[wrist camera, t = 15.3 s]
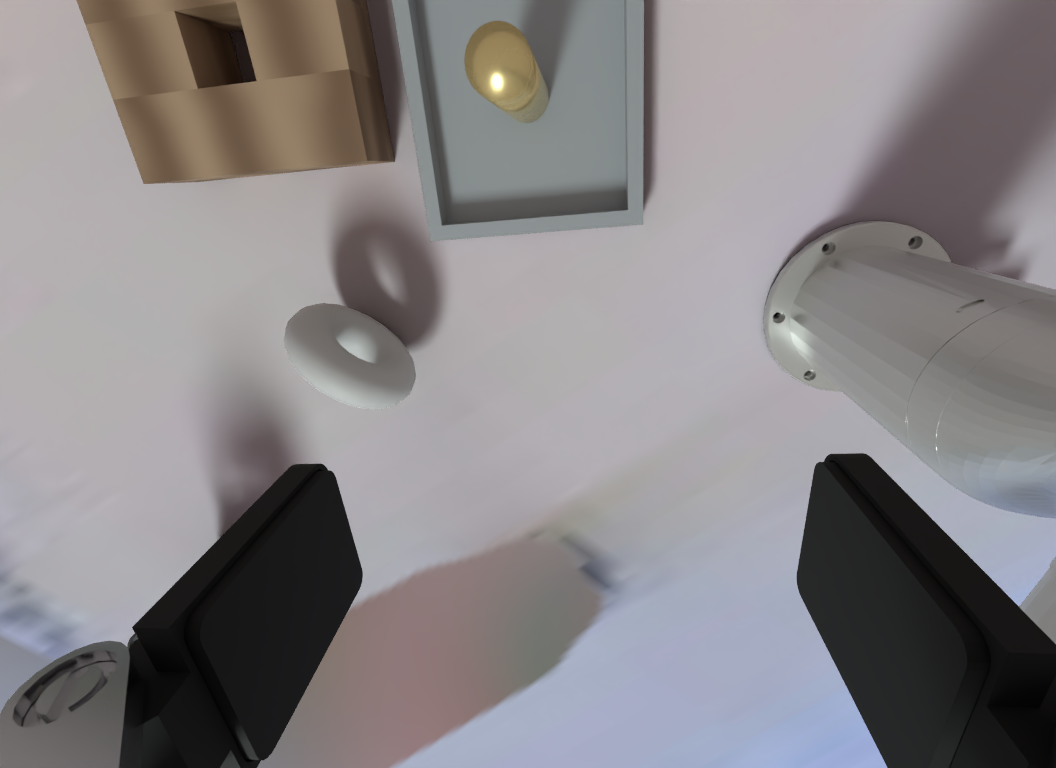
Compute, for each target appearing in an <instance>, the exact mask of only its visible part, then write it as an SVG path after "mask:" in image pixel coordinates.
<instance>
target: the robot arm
mask: <svg viewBox="0 0 1056 768" xmlns="http://www.w3.org/2000/svg"><path fill="white" fill-rule="evenodd" d="M910 239H911V241H910ZM909 241H910V243H909ZM908 243H909V244H908ZM825 244H826V248H825V249H824V250H822V247H823V246H824V245H825ZM777 312H778V315H777V316H776V317H773V316H774V314H775V313H777ZM763 323H764V335H765V339H766V342H767V346H768V348H769V350H770V352H771V354H772V355H773V357H774V359H775V360H776V361H777V363H778V364H779V365H780V366H781V367H782V368H783V369H784V370H785V371H786V372H787V373H788V374H789V375H791V376H792V377H793V378H794V379H796V380H798V381H799V382H801V383H803V384H805V385H808V386H811V387H814V388H817V389H820V390H827V391H834V392H843V393H844V394H845V395H846V396H848V397H849V398H850V399H851V400H852V401H853V402H854V403H856V404H857V405H858V406H859V407H860V408H861V409H863V410H864V411H865V412H866V413H867V414H868V415H869V416H871V417H872V418H873V419H874V420H875V421H876V422H878V423H879V424H880V425H881V426H882V427H883V428H884V429H886V430H887V431H888V432H889V433H890V434H891V435H893V436H894V437H895V438H896V439H897V440H898V441H899V442H901V443H902V444H903V445H904V446H905V447H906V448H908V449H909V450H910V451H911V452H912V453H913V454H914V455H916V456H917V457H918V458H919V459H920V460H921V461H923V462H924V463H925V464H926V465H927V466H928V467H929V468H931V469H932V470H933V471H934V472H935V473H937V474H938V475H939V476H940V477H941V478H942V479H944V480H945V481H946V482H948V483H949V484H951V485H952V486H953V487H955V488H956V489H958V490H959V491H961V492H963V493H964V494H966V495H968V496H970V497H972V498H974V499H976V500H978V501H980V502H983V503H985V504H988V505H991V506H994V507H996V508H1000V509H1003V510H1006V511H1010V512H1015V513H1020V514H1026V515H1032V516H1038V517H1045V518H1056V290H1054V289H1051V288H1047V287H1043V286H1039V285H1035V284H1031V283H1027V282H1023V281H1020V280H1016V279H1012V278H1008V277H1004V276H1000V275H996V274H992V273H989V272H985V271H981V270H977V269H973V268H969V267H965V266H962V265H958V264H954V263H952V262H951V260H950V257H949V256H948V254H947V253H946V252H945V250H944V249H943V248H942V246H941V245H940V244H939V243H938V242H937V241H936V240H934V239H933V238H932V237H931V236H929V235H928V234H927V233H925V232H923V231H921V230H918V229H916V228H914V227H912V226H908V225H904V224H899V223H894V222H885V221H868V222H858V223H854V224H850V225H846V226H842V227H839V228H837V229H835V230H832V231H830V232H828V233H826V234H823V235H821V236H820V237H818V238H817V239H815V240H814V241H812V242H811V243H809V244H807V245H806V246H805V247H804V248H803V249H801V250H800V251H799V252H798V253H797V254H796V255H795V256H793V257H792V258H791V260H790V261H789V262H788V263H787V264H786V266H785V267H784V268H783V269H782V271H781V272H780V273H779V275H778V277H777V278H776V280H775V282H774V284H773V285H772V287H771V290H770V293H769V295H768V298H767V301H766V304H765V311H764V317H763ZM807 371H808V372H807ZM805 372H807V373H805ZM361 583H362V568H361V564H360V561H359V557H358V554H357V550H356V547H355V543H354V540H353V536H352V533H351V529H350V526H349V522H348V519H347V515H346V512H345V508H344V505H343V501H342V498H341V494H340V491H339V487H338V484H337V480H336V477H335V475H334V473H333V472H332V471H328V470H327V468H326V467H325V466H324V465H323V464H295V465H292V466H291V467H290V468H288V470H287V471H286V472H285V473H284V474H283V475H282V476H281V477H280V478H279V479H278V480H277V481H276V482H275V483H274V484H273V485H272V486H271V487H270V488H269V489H268V490H267V491H266V492H265V493H264V494H263V495H262V496H261V497H260V498H259V499H258V500H257V501H256V502H255V503H254V504H253V505H252V506H251V507H250V508H249V509H248V510H247V511H246V512H245V513H244V514H243V515H242V516H241V517H240V518H239V519H238V520H237V521H236V522H235V523H234V524H233V525H232V526H231V527H230V528H229V529H228V530H227V532H226V533H225V534H224V535H223V536H222V537H221V538H220V539H219V540H218V541H217V542H216V543H215V544H214V545H213V546H212V547H211V548H210V549H209V550H208V551H207V552H206V553H205V554H204V555H203V556H202V557H201V558H200V559H199V560H198V561H197V562H196V563H195V564H194V565H193V566H192V567H191V568H190V569H189V570H188V571H187V572H186V573H185V574H184V575H183V576H182V577H181V578H180V579H179V580H178V581H177V582H176V583H175V584H174V585H173V586H172V587H171V588H170V589H169V590H168V591H167V592H166V594H165V595H164V596H163V597H162V598H161V599H160V600H159V601H158V602H157V603H156V604H155V605H154V606H153V607H152V608H151V609H150V610H149V611H148V612H147V613H146V614H145V615H144V616H143V617H142V618H141V619H140V620H139V621H138V622H137V623H136V624H135V625H134V626H133V627H132V628H133V630H134V632H135V633H136V635H137V637H138V640H137V641H136V642H135V643H134V644H133V645H132V646H131V648H130V649H129V648H128V647H126V646H125V645H124V644H123V643H121V642H115V641H105V642H99V643H93V644H90V645H87V646H85V647H82V648H79V649H76V650H74V651H72V652H70V653H68V654H66V655H64V656H62V657H60V658H58V659H56V660H55V661H53V662H52V663H50V664H49V665H47V666H46V667H45V668H43V669H41V670H40V671H38V672H37V673H36V674H35V675H33V676H32V677H31V678H30V679H29V680H27V681H26V682H25V683H24V684H23V685H22V686H20V687H19V689H18V690H17V691H16V692H15V693H14V694H13V695H12V697H11V698H10V699H9V700H8V701H7V702H6V704H5V706H4V708H3V709H2V711H1V713H0V768H257V766H258V764H259V763H260V761H261V760H264V759H266V758H268V756H269V755H270V754H271V753H272V751H273V750H274V748H275V747H276V745H277V742H278V741H279V739H280V737H281V735H282V733H283V732H284V730H285V728H286V726H287V724H288V722H289V720H290V718H291V716H292V715H293V713H294V711H295V709H296V707H297V705H298V703H299V701H300V700H301V698H302V696H303V694H304V692H305V690H306V688H307V686H308V685H309V683H310V681H311V679H312V677H313V675H314V673H315V672H316V670H317V668H318V666H319V664H320V662H321V660H322V658H323V656H324V655H325V653H326V651H327V649H328V647H329V645H330V643H331V641H332V640H333V638H334V636H335V634H336V632H337V630H338V628H339V627H340V625H341V623H342V621H343V619H344V617H345V615H346V613H347V612H348V610H349V608H350V606H351V604H352V602H353V600H354V598H355V597H356V595H357V593H358V591H359V589H360V587H361ZM797 585H798V589H799V593H800V595H801V597H802V599H803V601H804V603H805V605H806V607H807V609H808V611H809V613H810V615H811V617H812V619H813V621H814V623H815V625H816V627H817V629H818V631H819V633H820V635H821V637H822V639H823V641H824V643H825V645H826V647H827V649H828V651H829V653H830V655H831V657H832V659H833V661H834V663H835V665H836V667H837V669H838V670H839V672H840V674H841V676H842V678H843V680H844V682H845V684H846V686H847V688H848V690H849V692H850V694H851V696H852V698H853V700H854V702H855V704H856V706H857V708H858V710H859V712H860V714H861V716H862V718H863V720H864V722H865V724H866V726H867V728H868V730H869V732H870V734H871V736H872V738H873V740H874V742H875V744H876V746H877V747H878V749H879V751H880V753H881V755H882V757H883V759H884V761H885V763H886V765H887V767H888V768H1056V557H1055V558H1054V559H1053V560H1052V562H1051V564H1050V568H1049V570H1048V571H1047V572H1046V573H1045V575H1044V576H1043V577H1042V578H1041V580H1040V581H1039V582H1038V583H1037V585H1036V586H1035V587H1034V589H1033V590H1032V591H1031V592H1030V594H1029V595H1028V596H1027V597H1026V599H1025V600H1024V601H1023V602H1022V604H1021V605H1020V606H1018V605H1017V604H1016V603H1015V602H1014V601H1013V600H1012V599H1011V598H1010V597H1009V596H1008V595H1007V594H1006V593H1005V592H1004V591H1003V590H1002V589H1001V588H1000V587H999V586H998V585H997V584H996V583H995V582H994V581H993V580H992V579H991V578H990V577H989V576H988V575H987V574H986V573H985V572H984V571H983V570H982V569H981V568H980V567H979V566H978V565H977V564H976V563H975V562H974V561H973V560H972V559H971V558H970V557H969V556H968V555H967V554H966V553H965V552H964V551H963V550H962V549H961V548H960V547H959V546H958V545H957V544H956V543H955V542H954V541H953V540H952V539H951V538H950V537H949V536H948V535H947V534H946V533H945V532H944V531H943V530H942V529H941V528H940V527H939V526H938V525H937V524H936V523H935V522H934V521H933V520H932V519H931V518H930V517H929V516H928V515H927V514H926V513H925V512H924V511H923V510H922V509H921V508H920V507H919V506H918V505H917V504H916V503H915V502H914V501H913V500H912V499H911V497H910V496H909V495H908V494H907V493H906V492H905V491H904V490H903V489H902V488H901V487H900V486H899V485H898V484H897V483H896V482H895V481H894V480H893V479H892V478H891V477H890V476H889V475H888V474H887V473H886V472H885V471H884V470H883V469H882V468H881V467H880V466H879V465H878V464H877V463H876V462H875V461H874V460H873V459H872V458H871V457H870V456H868V455H867V454H863V453H859V454H830V455H828V456H827V457H826V459H825V461H824V462H819V463H817V464H816V466H815V469H814V474H813V480H812V486H811V492H810V498H809V504H808V510H807V516H806V522H805V529H804V535H803V541H802V547H801V553H800V559H799V565H798V571H797Z"/></svg>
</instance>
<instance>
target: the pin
mask: <svg viewBox="0 0 1056 768" xmlns="http://www.w3.org/2000/svg"><path fill="white" fill-rule="evenodd" d="M464 63H465V71H466V74H467V77H468V80H469V82H470V83H471V85H472V87H473V88H474V89H475V90H476V91H477V92H478V93H479V94H480V95H481V96H483V97H484V98H486V99H487V100H488V101H490V102H491V103H492V104H494V105H495V106H497V107H498V108H499V109H501V110H502V111H504V112H505V113H506V114H508V115H509V116H510V117H512V118H513V119H515V120H516V121H518V122H521V123H531V122H534V121H536V120H538V119H539V118H540V117H541V116H542V115H543V114H544V112H545V111H546V109H547V106H548V102H549V92H548V88H547V85H546V83H545V81H544V79H543V76H542V74H541V72H540V69H539V67H538V65H537V63H536V60H535V58H534V56H533V53H532V51H531V49H530V47H529V44H528V42H527V40H526V38H525V37H524V35H523V34H522V33H521V31H520V30H519V29H517V28H516V27H515V26H513V25H512V24H510V23H508V22H504V21H492V22H488V23H486V24H484V25H482V26H480V27H479V28H478V29H477V30H476V31H475V32H474V33H473V35H472V36H471V38H470V39H469V41H468V44H467V47H466V50H465V58H464Z"/></svg>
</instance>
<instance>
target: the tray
mask: <svg viewBox="0 0 1056 768" xmlns="http://www.w3.org/2000/svg"><path fill="white" fill-rule="evenodd" d="M392 5H393V11H394V17H395V23H396V30H397V36H398V42H399V48H400V55H401V61H402V67H403V73H404V79H405V86H406V92H407V98H408V104H409V111H410V117H411V123H412V129H413V136H414V142H415V148H416V154H417V160H418V167H419V173H420V179H421V185H422V192H423V198H424V204H425V210H426V217H427V223H428V229H429V235H430V241H441V240H453V239H466V238H478V237H491V236H503V235H516V234H529V233H541V232H554V231H566V230H579V229H592V228H604V227H617V226H629V225H642V224H643V118H644V0H392ZM492 21H504V22H508V23H510V24H512V25H513V26H515V27H516V28H517V29H519V30H520V31H521V33H522V34H523V35H524V37H525V38H526V40H527V42H528V44H529V47H530V49H531V51H532V53H533V56H534V58H535V60H536V63H537V65H538V67H539V69H540V72H541V74H542V76H543V79H544V81H545V83H546V85H547V88H548V92H549V102H548V106H547V109H546V111H545V112H544V114H543V115H542V116H541V117H540V118H539V119H538V120H536V121H534V122H531V123H521V122H518V121H516V120H515V119H513V118H512V117H510V116H509V115H508V114H506V113H505V112H504V111H502V110H501V109H499V108H498V107H497V106H495V105H494V104H492V103H491V102H490V101H488V100H487V99H486V98H484V97H483V96H481V95H480V94H479V93H478V92H477V91H476V90H475V89H474V88H473V87H472V85H471V83H470V82H469V80H468V77H467V74H466V71H465V63H464V58H465V50H466V47H467V44H468V41H469V39H470V38H471V36H472V35H473V33H474V32H475V31H476V30H477V29H478V28H479V27H480V26H482V25H484V24H486V23H488V22H492Z"/></svg>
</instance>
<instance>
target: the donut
mask: <svg viewBox="0 0 1056 768" xmlns="http://www.w3.org/2000/svg"><path fill="white" fill-rule="evenodd" d="M284 345H285V348H286V351H287V354H288V357H289V360H290V361H291V363H292V364H293V366H294V367H295V368H296V370H297V371H298V372H299V374H300V375H301V376H302V377H303V378H304V379H305V380H306V381H307V382H308V383H310V384H311V385H312V386H313V387H314V388H316V389H317V390H318V391H320V392H321V393H323V394H325V395H327V396H328V397H330V398H332V399H334V400H336V401H338V402H341V403H344V404H347V405H350V406H352V407H356V408H365V409H375V410H376V409H382V408H388V407H392V406H394V405H396V404H398V403H399V402H401V401H402V400H403V399H405V398H406V397H407V396H408V395H409V394H410V392H411V390H412V387H413V385H414V382H415V377H416V373H415V367H414V362H413V359H412V357H411V355H410V354H409V352H408V350H407V348H406V347H405V346H404V344H403V343H402V342H401V341H400V340H399V339H398V338H397V336H395V335H394V334H393V333H392V332H391V331H390V330H388V329H387V328H386V327H385V326H384V325H382V324H381V323H379V322H378V321H376V320H374V319H373V318H371V317H370V316H367V315H365V314H363V313H361V312H359V311H357V310H354V309H351V308H348V307H345V306H341V305H337V304H325V303H323V304H316V305H311V306H307V307H304V308H302V309H301V310H299V311H298V312H297V313H296V314H295V315H294V316H293V317H292V318H291V319H290V320H289V321H288V323H287V326H286V331H285V337H284Z"/></svg>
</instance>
